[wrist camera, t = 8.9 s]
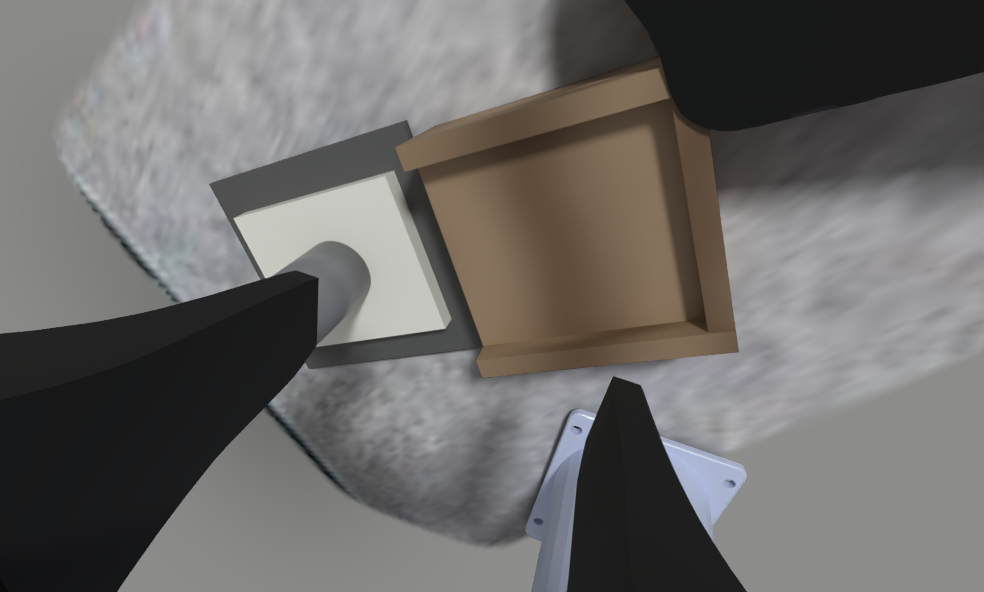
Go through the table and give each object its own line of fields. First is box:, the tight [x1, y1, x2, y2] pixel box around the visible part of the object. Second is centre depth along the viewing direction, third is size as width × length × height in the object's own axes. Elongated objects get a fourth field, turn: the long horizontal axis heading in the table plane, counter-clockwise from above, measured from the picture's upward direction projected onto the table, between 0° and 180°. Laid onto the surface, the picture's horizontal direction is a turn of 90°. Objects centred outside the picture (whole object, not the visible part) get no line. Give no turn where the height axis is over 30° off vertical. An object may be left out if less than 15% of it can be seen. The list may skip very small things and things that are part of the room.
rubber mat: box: [209, 120, 483, 369], centre depth 23 cm, size 10×10×1 cm
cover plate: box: [233, 171, 451, 347], centre depth 21 cm, size 8×7×4 cm
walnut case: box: [395, 57, 739, 378], centre depth 18 cm, size 9×9×4 cm
